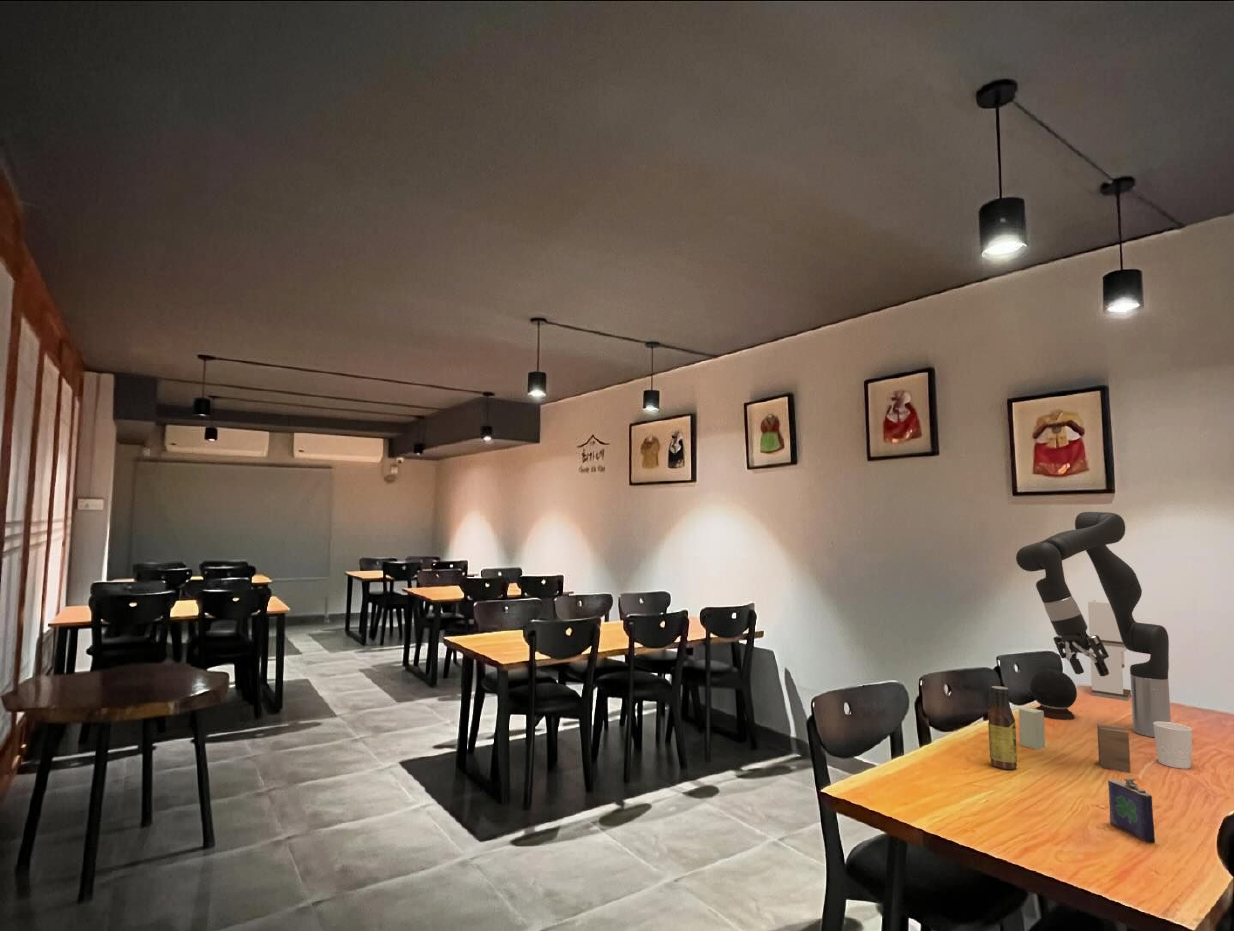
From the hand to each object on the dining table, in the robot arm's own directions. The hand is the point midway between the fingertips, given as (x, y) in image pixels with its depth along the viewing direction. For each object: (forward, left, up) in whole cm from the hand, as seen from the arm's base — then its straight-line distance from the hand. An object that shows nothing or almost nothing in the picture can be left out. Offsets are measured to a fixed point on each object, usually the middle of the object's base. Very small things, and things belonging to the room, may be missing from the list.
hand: (1092, 674), depth 177 cm
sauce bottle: (+15, -21, -24) cm, 35 cm away
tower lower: (-1, +4, -23) cm, 24 cm away
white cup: (-13, +18, -24) cm, 32 cm away
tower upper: (-1, +4, -18) cm, 19 cm away
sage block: (-9, -14, -23) cm, 29 cm away
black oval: (-52, -7, -24) cm, 58 cm away
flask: (+45, +2, -24) cm, 50 cm away
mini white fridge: (-99, +14, -24) cm, 103 cm away
